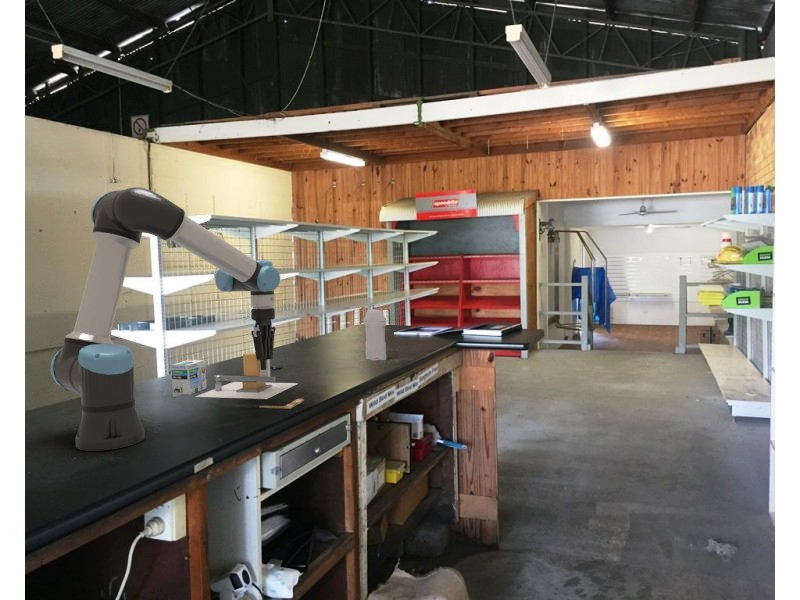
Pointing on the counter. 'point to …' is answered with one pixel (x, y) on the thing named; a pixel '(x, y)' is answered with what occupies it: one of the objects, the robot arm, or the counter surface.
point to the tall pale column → (375, 335)
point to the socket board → (237, 390)
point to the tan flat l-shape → (288, 405)
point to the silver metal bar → (243, 378)
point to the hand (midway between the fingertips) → (265, 379)
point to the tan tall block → (252, 372)
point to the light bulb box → (188, 377)
